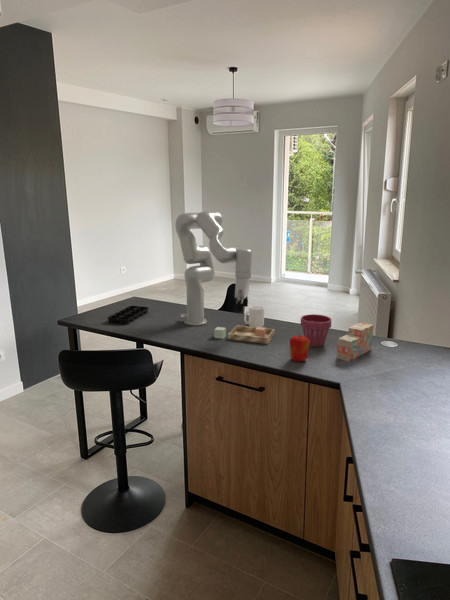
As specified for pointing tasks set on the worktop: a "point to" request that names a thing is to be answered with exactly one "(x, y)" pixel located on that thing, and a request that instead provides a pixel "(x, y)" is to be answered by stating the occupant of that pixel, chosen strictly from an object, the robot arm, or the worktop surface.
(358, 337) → the stack of blocks
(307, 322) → the plant pot
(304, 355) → the apple
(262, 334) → the terracotta block
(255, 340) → the oak tray
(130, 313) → the egg carton
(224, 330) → the sage block
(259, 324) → the cup
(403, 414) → the worktop surface
